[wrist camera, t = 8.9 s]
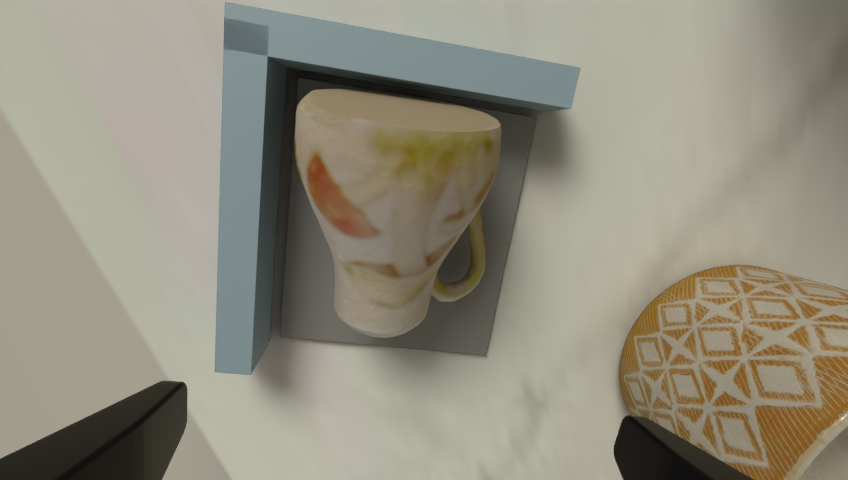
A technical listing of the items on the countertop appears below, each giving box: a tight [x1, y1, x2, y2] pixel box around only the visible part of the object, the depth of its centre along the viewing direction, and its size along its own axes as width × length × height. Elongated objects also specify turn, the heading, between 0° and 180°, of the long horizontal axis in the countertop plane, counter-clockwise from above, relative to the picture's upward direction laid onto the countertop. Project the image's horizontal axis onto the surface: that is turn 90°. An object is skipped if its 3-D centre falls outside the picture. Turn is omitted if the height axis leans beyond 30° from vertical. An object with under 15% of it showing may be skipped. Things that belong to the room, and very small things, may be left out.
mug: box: [295, 89, 502, 338], centre depth 16 cm, size 8×10×10 cm
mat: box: [280, 78, 536, 355], centre depth 20 cm, size 11×12×1 cm
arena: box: [215, 2, 580, 375], centre depth 18 cm, size 13×14×3 cm
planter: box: [620, 265, 848, 480], centre depth 18 cm, size 13×13×10 cm
